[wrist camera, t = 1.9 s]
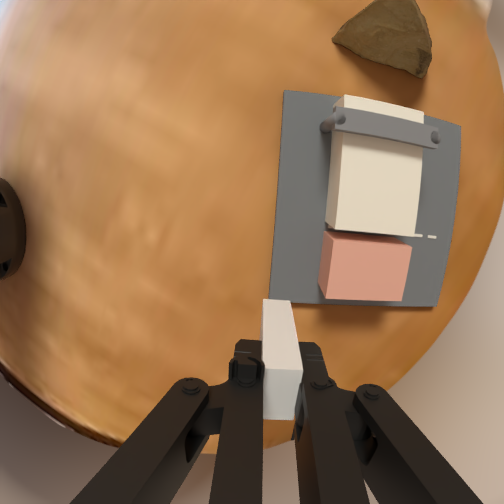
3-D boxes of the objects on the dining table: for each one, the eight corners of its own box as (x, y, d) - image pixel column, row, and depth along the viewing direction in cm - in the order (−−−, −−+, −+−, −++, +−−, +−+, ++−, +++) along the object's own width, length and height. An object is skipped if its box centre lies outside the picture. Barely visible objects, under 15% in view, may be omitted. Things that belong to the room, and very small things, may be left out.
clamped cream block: (312, 220, 31) (323, 230, 25) (320, 103, 28) (333, 88, 22) (405, 229, 30) (430, 240, 25) (414, 120, 27) (441, 113, 22)
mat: (268, 297, 34) (268, 301, 33) (283, 92, 28) (284, 89, 27) (432, 303, 34) (436, 306, 33) (456, 126, 28) (461, 126, 27)
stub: (317, 282, 32) (325, 298, 28) (323, 230, 31) (333, 240, 27) (385, 285, 32) (401, 301, 28) (394, 237, 31) (412, 247, 26)
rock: (453, 59, 24) (401, -11, 21) (468, 69, 18) (403, -20, 16) (383, 97, 32) (332, 33, 29) (380, 116, 26) (316, 36, 23)
